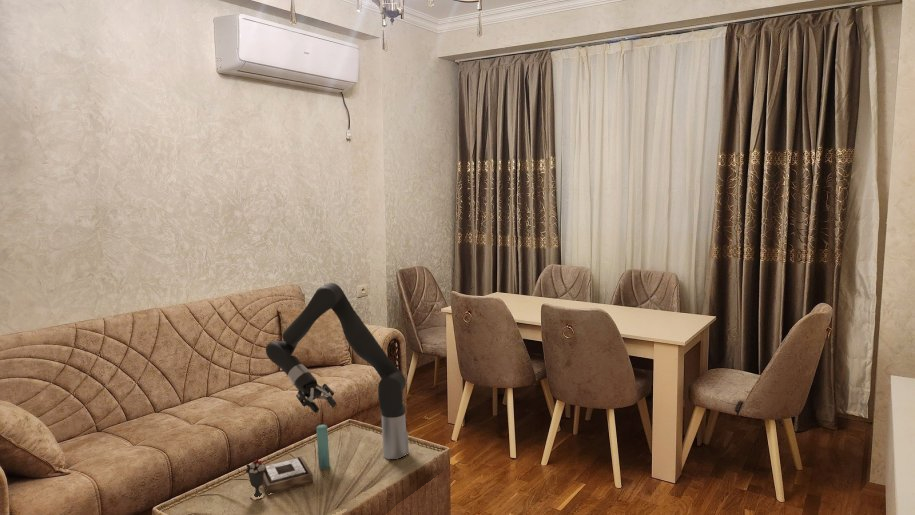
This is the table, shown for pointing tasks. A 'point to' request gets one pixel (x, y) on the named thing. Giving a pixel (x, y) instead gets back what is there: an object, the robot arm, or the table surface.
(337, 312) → the robot arm
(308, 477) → the box
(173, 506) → the table surface
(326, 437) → the peg
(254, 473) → the sundae
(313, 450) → the table surface
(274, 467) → the plate
